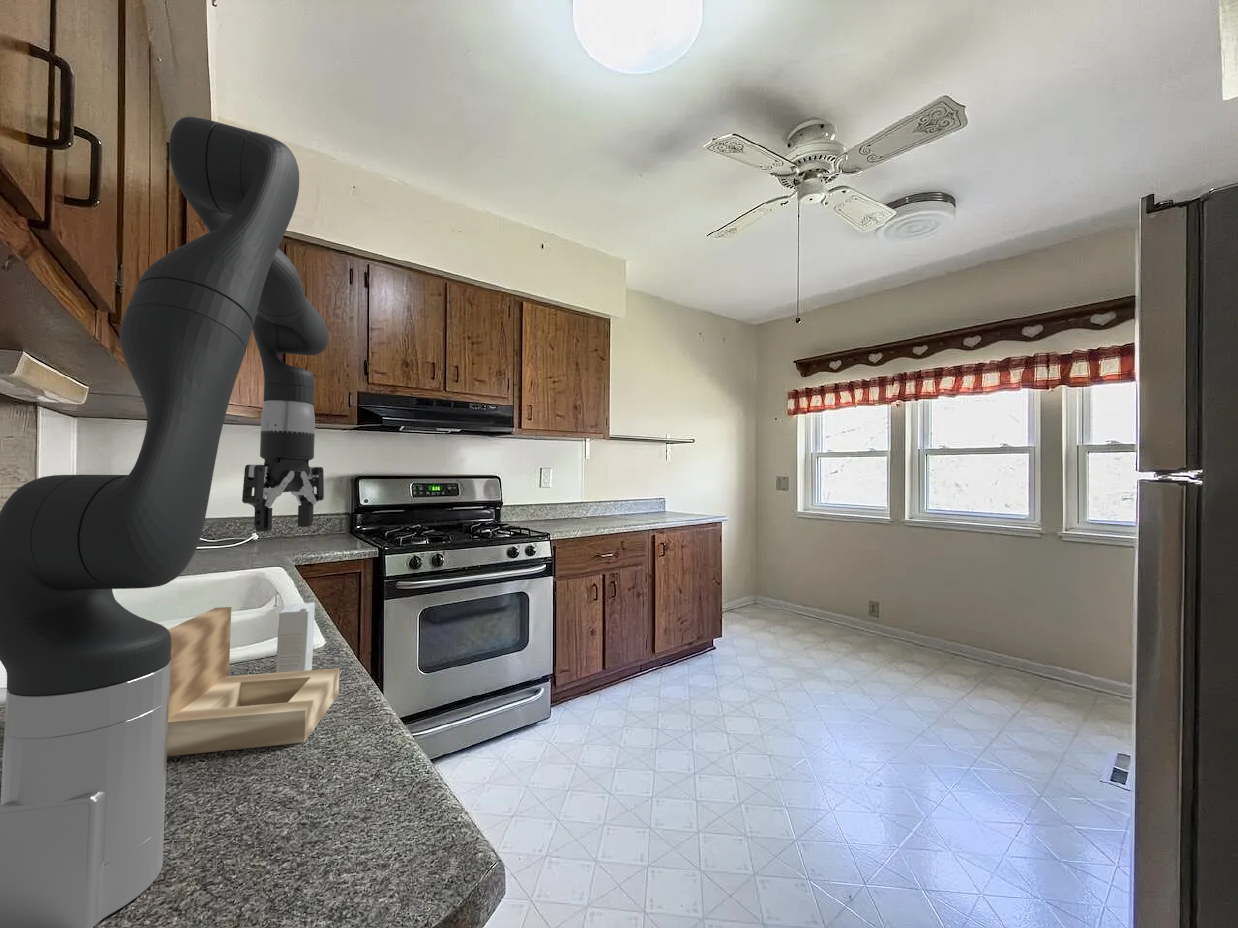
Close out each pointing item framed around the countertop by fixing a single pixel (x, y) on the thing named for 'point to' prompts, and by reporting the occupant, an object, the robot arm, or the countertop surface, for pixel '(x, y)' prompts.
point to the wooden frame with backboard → (236, 694)
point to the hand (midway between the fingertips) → (285, 528)
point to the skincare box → (295, 638)
